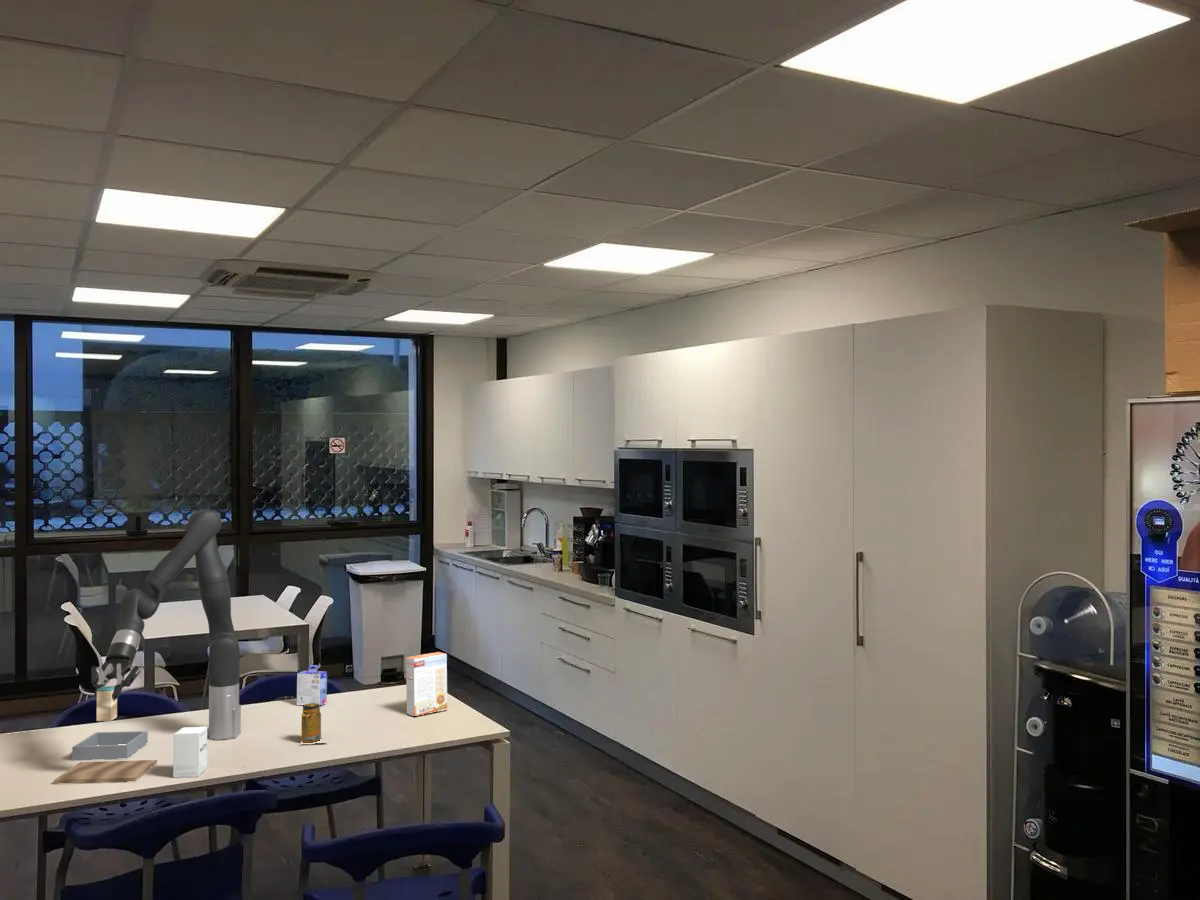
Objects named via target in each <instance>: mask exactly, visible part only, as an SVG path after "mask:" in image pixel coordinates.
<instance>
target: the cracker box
mask: <svg viewBox="0 0 1200 900" xmlns="http://www.w3.org/2000/svg"><path fill="white" fill-rule="evenodd" d="M447 662H448V655H447V653H444V652H441V651H436V652H430V653H423V654H418V655H413V656H406V658H405V666H406V667H405V669H406V670H405V673H406V680H405V681H406V714H407V713H408V714H410V715H413V716H417V715H422V714H426V713H429V712H434V711H438V710H442V709H446V708H447V709H448V669H447V668H448V666H447V665H448V663H447ZM410 715H409V716H410ZM413 716H412V717H413Z"/></svg>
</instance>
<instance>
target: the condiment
mask: <svg viewBox="0 0 1200 900" xmlns="http://www.w3.org/2000/svg"><path fill="white" fill-rule="evenodd" d="M321 738H322V713H321V706H320V705H319V704H317V703H309V704H305V705H304V706H302V713H301V738H300V739H301V740H302V742H303V743H313V742H317V741H320V739H321Z"/></svg>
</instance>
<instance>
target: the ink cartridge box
mask: <svg viewBox="0 0 1200 900" xmlns="http://www.w3.org/2000/svg"><path fill="white" fill-rule="evenodd" d="M318 669H319V665H318V664H310V665H309V666H308V670H301V671H300V672H297V674H296V676H297V677H296V706H301V705H305V704H309V703H317V704H319V705H322V704H324V703H327V702H328V699H327V696H328V695H327V693H328V692H327V691H328V687H327V686H328V671H323V670H321V671H320V670H318ZM327 704H328V703H327ZM322 706H323V705H322Z"/></svg>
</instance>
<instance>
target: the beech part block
mask: <svg viewBox="0 0 1200 900" xmlns="http://www.w3.org/2000/svg"><path fill="white" fill-rule="evenodd" d="M114 688H115V685H111V686H110V685H109V686H103V687H101V688H99V689H97V699H96V722H108V721H109V722H110V721H113V720H114V719H116V718H117V717H118V698H117V699H116V700H113V698H112V694H113V691H114Z"/></svg>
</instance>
